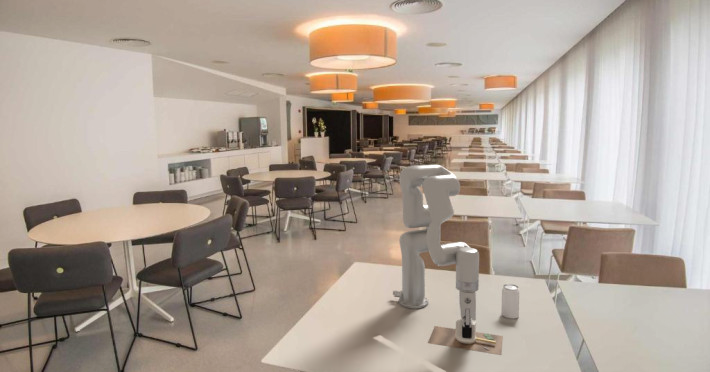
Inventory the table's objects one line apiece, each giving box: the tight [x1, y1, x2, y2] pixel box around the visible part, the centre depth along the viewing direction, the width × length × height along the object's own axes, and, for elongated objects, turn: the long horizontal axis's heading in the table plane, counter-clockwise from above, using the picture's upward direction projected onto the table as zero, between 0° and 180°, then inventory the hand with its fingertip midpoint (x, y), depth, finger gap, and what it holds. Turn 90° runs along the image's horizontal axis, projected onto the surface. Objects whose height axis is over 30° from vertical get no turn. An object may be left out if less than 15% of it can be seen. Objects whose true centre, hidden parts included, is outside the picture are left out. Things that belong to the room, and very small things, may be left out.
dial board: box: [427, 325, 504, 356], centre depth 147 cm, size 24×13×2 cm, turn 69°
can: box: [501, 283, 520, 320], centre depth 167 cm, size 6×6×12 cm
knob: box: [455, 318, 496, 344], centre depth 145 cm, size 14×7×6 cm, turn 64°
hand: (466, 334), depth 147 cm, fingers closed on knob, 3 cm apart
